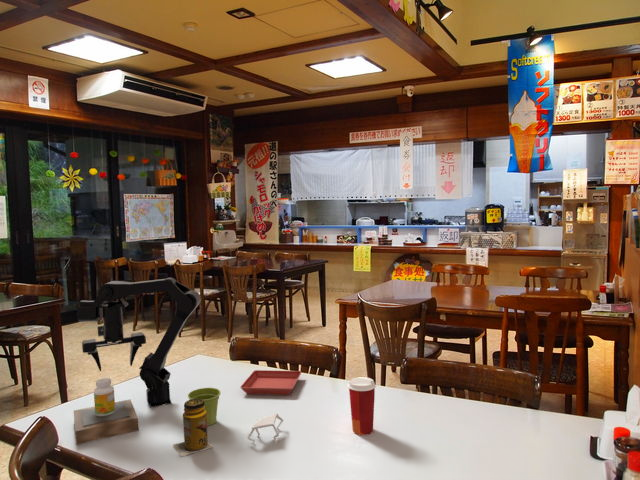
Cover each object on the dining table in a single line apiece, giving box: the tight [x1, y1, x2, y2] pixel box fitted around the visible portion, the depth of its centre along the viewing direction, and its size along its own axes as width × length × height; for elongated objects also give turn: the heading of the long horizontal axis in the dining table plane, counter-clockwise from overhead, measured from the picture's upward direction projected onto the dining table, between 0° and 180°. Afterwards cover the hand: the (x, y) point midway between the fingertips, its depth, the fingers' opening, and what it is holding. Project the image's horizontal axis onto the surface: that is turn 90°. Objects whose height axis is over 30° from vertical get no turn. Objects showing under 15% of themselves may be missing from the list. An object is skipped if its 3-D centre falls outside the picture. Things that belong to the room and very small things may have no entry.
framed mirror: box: [73, 399, 140, 446], centre depth 143 cm, size 16×16×4 cm
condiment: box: [172, 399, 214, 457], centre depth 129 cm, size 7×8×12 cm
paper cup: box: [346, 376, 377, 436], centre depth 135 cm, size 8×8×14 cm
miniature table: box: [246, 413, 284, 445], centre depth 134 cm, size 12×8×5 cm
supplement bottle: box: [93, 377, 116, 416], centre depth 143 cm, size 5×5×10 cm
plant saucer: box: [240, 369, 302, 396], centre depth 172 cm, size 18×18×3 cm
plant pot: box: [187, 387, 222, 426], centre depth 144 cm, size 9×9×9 cm
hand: (115, 368), depth 159 cm, fingers open, 9 cm apart
